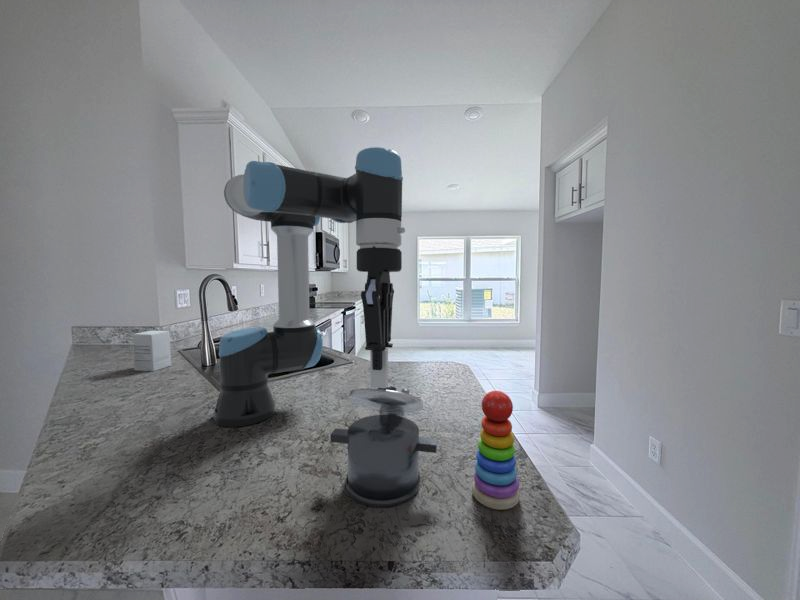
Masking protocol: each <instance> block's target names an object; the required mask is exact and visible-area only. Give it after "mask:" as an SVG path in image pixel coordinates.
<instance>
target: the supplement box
mask: <svg viewBox="0 0 800 600" xmlns="http://www.w3.org/2000/svg"><path fill="white" fill-rule="evenodd" d="M131 336H132V337H131V338H132V352H133V354H132V356H133V370H134V371H140V372H155V371H159V370H161V369H165V368H167V367H171V366H172V353H171V352H172V351H171V335H170V330H147V331H142V332H136V333H131Z"/></svg>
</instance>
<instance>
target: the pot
mask: <svg viewBox="0 0 800 600" xmlns="http://www.w3.org/2000/svg"><path fill="white" fill-rule="evenodd" d="M330 443H338V444H339V443H340V444H347V474H346V477H345V478H346V479H345V482H346V483H345V486H346V487H345V488H346V491H347V493H348V494H349V497H351V498H352V499H353V500H354V501H355V502H357V503H359V504H361V505H363V506H366V507H369V508H370V507H371V508H377V509H379V508H380V509H386V508H387V509H388V508H394V507H397V506H400V505H403V504H405V503H407V502H409V501H410V500H412V499H413V498H414V497H415V496H416V495H417V494H418V492H419V490H420V487H421V476H420V472H419V467H420V466H419V462H420V461H419V460H420V458H419V457H420V456H419V455H420V452H423V453H432V454H437V451H438V438H436V437H435V438H434V437H425V436H420V429H419V426H418V425H417V424H416V422H414V421H413V420H411V419H409V418H407V417H405V416H404V417H401V416H396V415H380V414H374V415H370V416H366V417H362V418H360V419H358V420H355V421H354V422H352V423H351V424H350V425H349V426H348V429H343V428H335V429H333V431H332V432H331V433H330ZM416 493H417V494H416Z"/></svg>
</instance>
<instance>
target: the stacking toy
mask: <svg viewBox="0 0 800 600" xmlns="http://www.w3.org/2000/svg"><path fill="white" fill-rule="evenodd" d="M513 405H514V403H513V402H512V399H511V397H510V396H509V395H507V393H505V392H503V391H501V390H500V391H499V390H491V391H489V392H487V393H486V394H485V395H484V396H483V398H482V400H481V410H482V412H483V414H484V415H485V416H484V417H483V418H482V420H481V428H482V429H481V431H480V439H479V441H478V443H477V447H478V449H477V451H476V455H475V456H476V461H475V463H474V474H473V481H472V484H471V491H472V495H473V496H474V498H475V500H476V501H478V502H479V503H480V504H482V505H483V506H484V507H487V508H489V509H493V510H497V511H498V510H500V511H503V510H504V511H505V510H510V509H512V508H514V507H515V506H516V505H518V503H519V501H520V497H521V495H520V490H519V488H520V481H519V478H518V476H517V475H518V471H517V468H516V465H517V458H516V456H515V453H516V449H515V445H514V443H515V435H514V433H513V432H512V429H513V424H512V422H511V420H510V419H509V418H510V417H511V416H512V413H513V410H514V406H513Z"/></svg>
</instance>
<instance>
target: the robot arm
mask: <svg viewBox="0 0 800 600" xmlns="http://www.w3.org/2000/svg"><path fill="white" fill-rule="evenodd" d="M354 170H355V173H354V174H352V175H350V176H349V177H344V176H343V177H342V176H337V175H333V174H327V173H321V172H315V171H310V170H304V169H300V168H295V167H289V166H285V165H281V164H276V163H274V162H271V161H257V160H251V161H249V162H248V163H247V164H246V165H245V169H244V173H243V174H238V175H236V176H232V177H231V178H230V179H229V180H228V181H227V182H226V184H225V186H224V190H223V194H224V199H225V202H226V204H227V205H228V208H230V209H231V210H232V211H234V212H235V213H236V214H238V215H241V216H242V217H245V218H248V219H251V220H255V221H261V222H269V223H270V230H271V231H272V232H273V233H274V234H275V235H276V245H277V247H276V249H277V251H276V253H277V287H278V288H277V289H278V291H277V295H278V296H277V297H278V299H277V301H278V319H277V320H276V321H275V323H273V327H272V328H273V331H269V332H268V330H267V329H266V327H258V326H257V327H248V328H243V329H239V330H235V331H231V332H229V333H228V332H227V333H225V334H224V335H223V336H222V337H221V338H220V339H219V346H218V347H219V350H218V356H219V375H220V376H219V377H220V378H219V381H220V383H219V385H220V391H219V395H218V397H217V401H216V404H215V408H214V409H213V410H214V411H213V421H214V424H216V425H218V426H220V427H226V428H227V427H228V428H235V427H244V426H245V427H246V426H251V425H255V424H258V423H260V422H264V421H265V420H267V419H270V417H272V416H273V415H274V414H275V413H276V402H275V400H274V397H273V394H272V392H271V389H270V386H269V384H268V383H269V380H268V377H269V375H270V374H271V375H272V374H277V373H283V372H290V371H297V370H299V371H300V370H301V371H302V370H304V369H308V368H311V367H314V366H316V365H317V364H318V363H319V361H320V359H321V356H322V355H323V353H322V352H323V347H324V346H323V344H324V343H323V337H322V335H323V334H322V332H321V330H320V329H319V328H317V327H316V323H315V321H313V320H312V319H311V317H310V273H309V272H310V270H309V269H310V266H309V261H310V260H309V256H310V255H309V236H310V235H311V234H312V233H313V232H314V227H316V226H317V225H318V224H319V223H320V220H321V218H323V219H324V218H325V219H330V220H332V221H333V222H335V223H338V224H339V223H340V224H346V223H347V224H352V223H354V222H356V223H355V224H356V225H355V228H356V229H355V231H356V234H355V244H356V246H357V247H359V248H358V249H357V250H356V270H357V271H358V272H363V273H365V272H366V273H367V277H366V282H365V284H364V290H361V293H360V297H361V302H362V309H363V320H364V331H365V332H364V333H365V335H364V336H365V346H364V350H365V351H369V352H370V353H369V354H370V355H369V356H370V388H372V389H378V388H387V386H389V349H391V348H393V345H394V344H393V343H390V342H391V340H392V321H393V320H392V319H393V302H394V293H395V290H394V284H393V282H391V276H390V273H395V272H396V273H399V272H401V271H402V268H403V267H402V263H403V262H402V261H403V258H402V251H401V249H399V248H398V247H401V245H402V234H404V233H405V232H406V229H405V227H403V226H402V217H403V215H402V214H403V213H402V211H403V207H402V206H403V180H404V177H403V173H402V171H403V170H402V158H401V156H400V155H399V153H397V152H396V151H395V150H393V149H390V148H386V147H378V146H376V147H375V146H373V147H367V148H364V149H361V150H360V151H358V153H357V155H356V159H355V166H354ZM388 348H389V349H388Z"/></svg>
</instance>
